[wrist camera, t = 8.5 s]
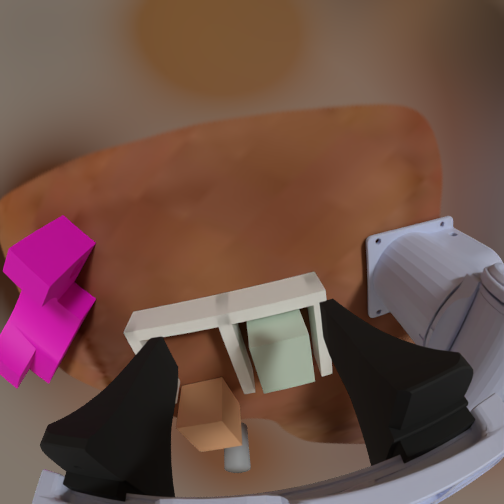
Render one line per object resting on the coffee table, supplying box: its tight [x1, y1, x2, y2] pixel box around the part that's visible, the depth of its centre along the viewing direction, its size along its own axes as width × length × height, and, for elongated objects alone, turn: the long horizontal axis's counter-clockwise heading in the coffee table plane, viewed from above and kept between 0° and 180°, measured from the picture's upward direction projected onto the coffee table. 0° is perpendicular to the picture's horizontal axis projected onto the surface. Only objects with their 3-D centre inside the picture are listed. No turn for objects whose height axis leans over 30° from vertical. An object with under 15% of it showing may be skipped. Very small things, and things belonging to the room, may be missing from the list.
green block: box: [247, 309, 315, 393], centre depth 22 cm, size 4×5×6 cm
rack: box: [123, 272, 332, 404], centre depth 23 cm, size 16×9×3 cm, turn 103°
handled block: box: [176, 377, 250, 473], centre depth 26 cm, size 4×11×6 cm, turn 19°
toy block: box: [0, 215, 96, 388], centre depth 19 cm, size 15×6×8 cm, turn 138°
